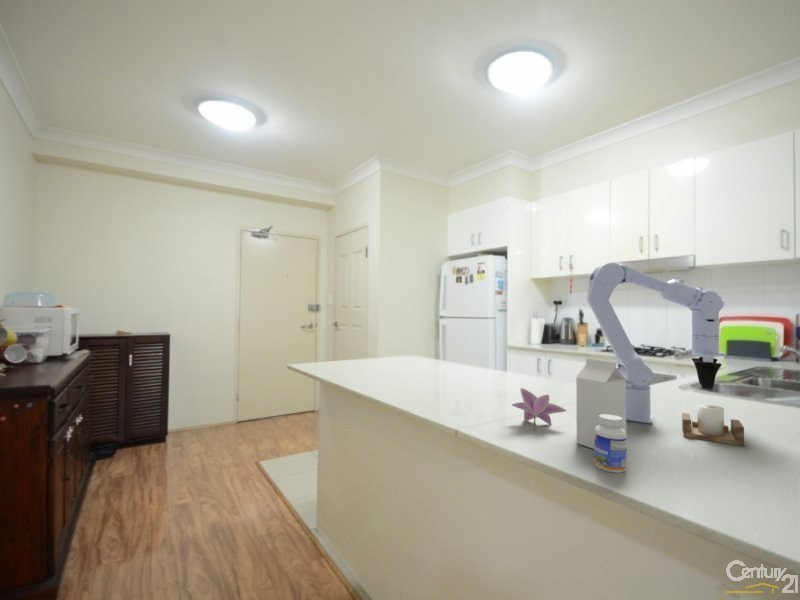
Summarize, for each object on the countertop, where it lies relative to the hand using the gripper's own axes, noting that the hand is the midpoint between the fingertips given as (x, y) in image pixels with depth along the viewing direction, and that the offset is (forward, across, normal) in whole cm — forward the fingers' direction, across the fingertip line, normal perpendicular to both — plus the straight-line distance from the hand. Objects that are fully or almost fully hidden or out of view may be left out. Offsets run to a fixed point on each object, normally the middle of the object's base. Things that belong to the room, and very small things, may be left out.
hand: (705, 386), depth 103 cm
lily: (+10, -29, +37) cm, 48 cm away
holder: (+10, -13, 0) cm, 16 cm away
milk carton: (+10, -36, +21) cm, 43 cm away
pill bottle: (+10, -48, +18) cm, 52 cm away
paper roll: (+9, -13, 0) cm, 16 cm away
